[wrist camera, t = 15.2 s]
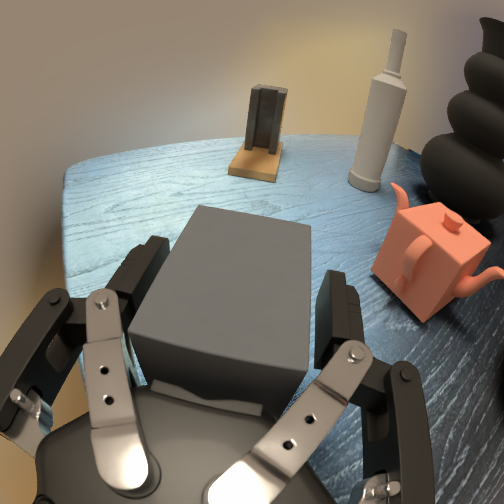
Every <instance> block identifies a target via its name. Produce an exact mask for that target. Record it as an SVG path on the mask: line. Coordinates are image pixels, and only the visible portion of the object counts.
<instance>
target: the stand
mask: <svg viewBox="0 0 504 504" xmlns="http://www.w3.org/2000/svg"><path fill="white" fill-rule="evenodd" d="M287 91H288V89H286V88H280V87H274V86H267V85H260V84H258V85H256V86H254V87H253V88H252V89H251V96H250V104H249V112H248V120H247V128H246V136H245V142H244V143H243V145H242V146H241V148H240V149H239V151H238V153H237V154H236V156H235V157H234V159H233V160H232V162H231V164H230V165H229V167H228V175H234V176H240V177H246V178H252V179H258V180H264V181H269V182H275V179H276V175H277V170H278V165H279V161H280V156H281V152H282V146H283V142H279V140H280V133H281V128H282V122H283V116H284V110H285V103H286V97H287Z"/></svg>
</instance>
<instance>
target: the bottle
mask: <svg viewBox="0 0 504 504" xmlns="http://www.w3.org/2000/svg"><path fill="white" fill-rule="evenodd" d="M406 38H407V33H406V32H403V31H401V30H396V29H393V33H392V38H391V46H390V52H389V57H388V61H387V66H386V69H385V70H384V71H383V73H382V74H380V75H378V76H376V77H374V78H373V79H372V82H371V87H370V92H369V97H368V102H367V107H366V111H365V116H364V121H363V125H362V129H361V134H360V138H359V142H358V146H357V151H356V155H355V159H354V163H353V167H352V168H351V169H350V171H349V175H348V180H349V183H350V184H351V185H352V186H354V187H356V188H358V189H360V190H363V191H366V192H375V191H376V190H377V189H378V187H379V185H380V182H381V178H380V177H381V174H382V171H383V168H384V165H385V162H386V159H387V156H388V153H389V150H390V147H391V144H392V141H393V138H394V134H395V131H396V127H397V124H398V120H399V118H400V114H401V110H402V107H403V103H404V99H405V96H406V92H407V89H406V88H405V86H404V84H403V83H402V82H401V80H400V79H401V76H400V75H399V72H400V67H401V62H402V57H403V52H404V46H405V43H406Z"/></svg>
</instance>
